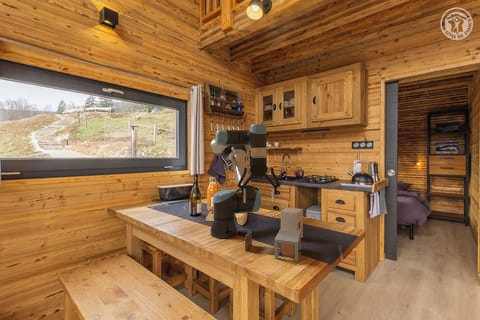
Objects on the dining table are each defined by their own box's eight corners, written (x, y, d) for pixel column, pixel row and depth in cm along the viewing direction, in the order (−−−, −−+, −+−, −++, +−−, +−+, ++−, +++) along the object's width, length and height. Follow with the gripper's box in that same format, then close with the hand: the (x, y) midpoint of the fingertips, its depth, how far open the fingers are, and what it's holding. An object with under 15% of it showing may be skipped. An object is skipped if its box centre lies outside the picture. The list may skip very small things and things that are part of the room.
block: (281, 255, 92) (281, 240, 92) (283, 250, 97) (283, 236, 97) (293, 256, 91) (293, 242, 90) (295, 251, 95) (295, 237, 95)
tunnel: (274, 262, 89) (274, 239, 89) (280, 248, 102) (280, 228, 101) (297, 265, 86) (297, 242, 86) (300, 251, 98) (300, 230, 98)
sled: (245, 253, 97) (244, 236, 97) (250, 247, 103) (249, 230, 103) (300, 261, 89) (299, 242, 89) (301, 254, 95) (301, 236, 95)
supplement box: (298, 244, 107) (297, 212, 106) (280, 240, 112) (279, 210, 111) (303, 237, 114) (303, 208, 114) (286, 234, 119) (286, 206, 119)
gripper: (231, 157, 101) (232, 204, 102) (286, 157, 102) (286, 203, 103) (232, 157, 109) (232, 200, 110) (283, 156, 109) (283, 199, 110)
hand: (258, 201), depth 106 cm, fingers open, 13 cm apart
